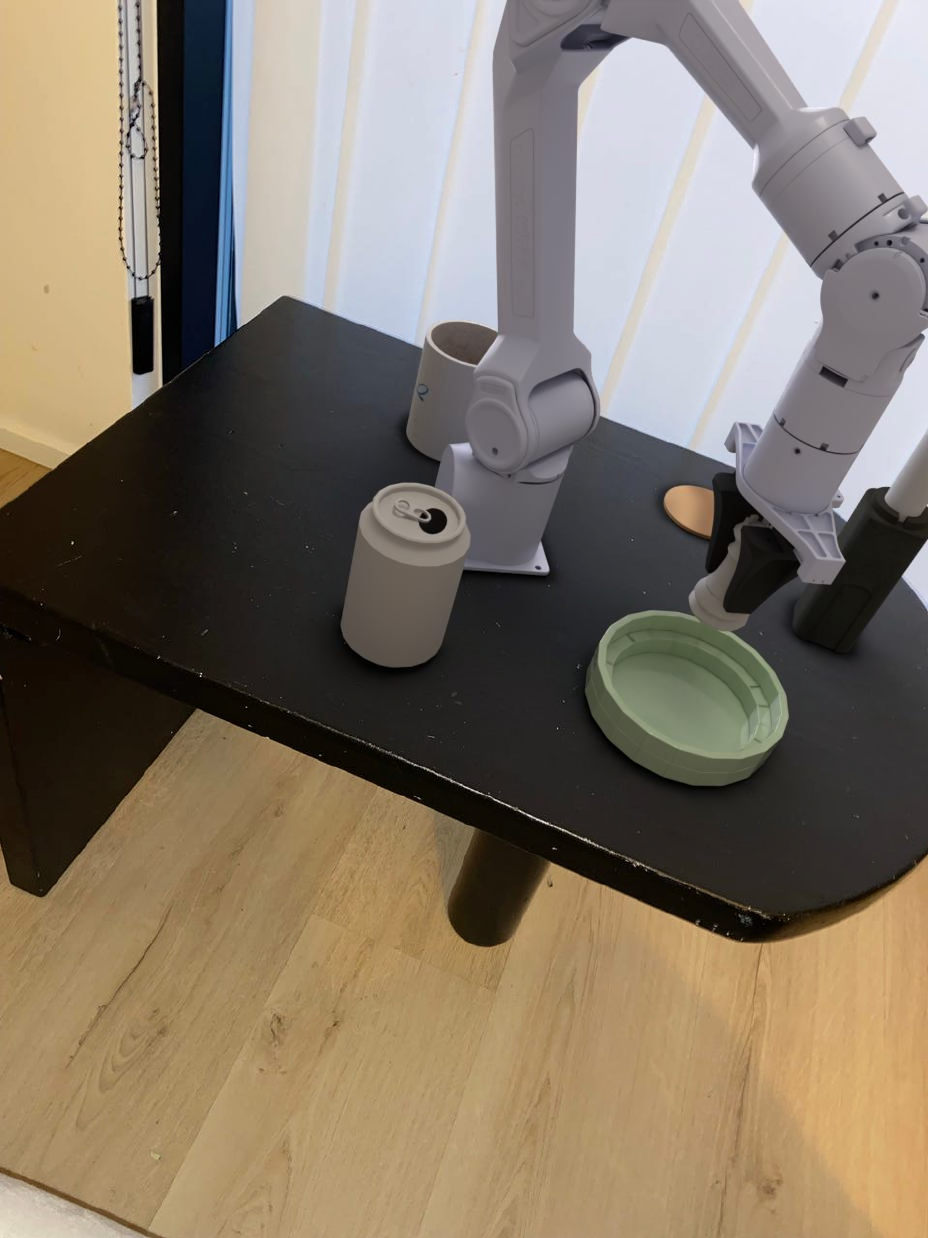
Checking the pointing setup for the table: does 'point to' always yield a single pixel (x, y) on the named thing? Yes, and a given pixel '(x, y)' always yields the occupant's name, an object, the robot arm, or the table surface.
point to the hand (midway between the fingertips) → (727, 590)
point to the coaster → (691, 509)
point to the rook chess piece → (721, 587)
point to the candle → (869, 558)
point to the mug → (446, 383)
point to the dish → (685, 698)
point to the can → (404, 574)
